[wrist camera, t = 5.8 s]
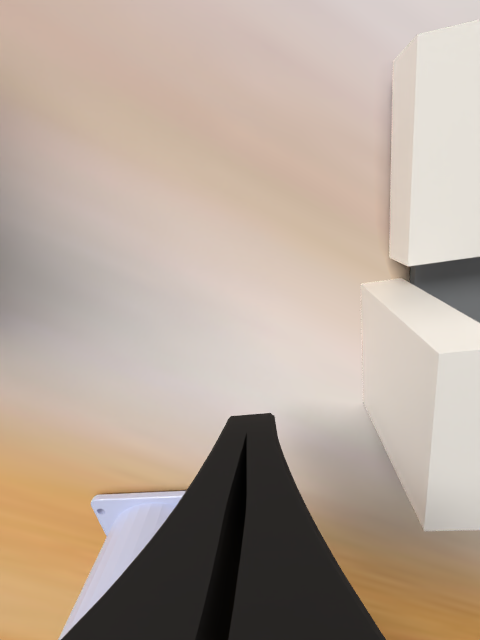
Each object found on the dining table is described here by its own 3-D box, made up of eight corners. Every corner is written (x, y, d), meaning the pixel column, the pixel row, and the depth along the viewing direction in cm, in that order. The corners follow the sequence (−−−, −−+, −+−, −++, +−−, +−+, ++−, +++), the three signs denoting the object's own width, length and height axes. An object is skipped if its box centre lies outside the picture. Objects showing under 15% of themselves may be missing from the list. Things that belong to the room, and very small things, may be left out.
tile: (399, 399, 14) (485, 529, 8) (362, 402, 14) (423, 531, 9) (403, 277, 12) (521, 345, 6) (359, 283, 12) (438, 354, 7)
